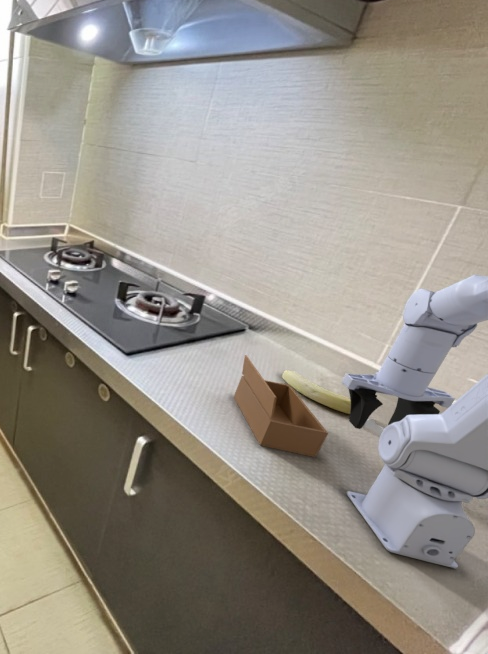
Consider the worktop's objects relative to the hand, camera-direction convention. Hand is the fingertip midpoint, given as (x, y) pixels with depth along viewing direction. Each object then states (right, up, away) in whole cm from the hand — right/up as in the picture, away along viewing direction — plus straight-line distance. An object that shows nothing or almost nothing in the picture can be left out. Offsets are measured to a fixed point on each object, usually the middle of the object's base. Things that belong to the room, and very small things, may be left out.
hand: (373, 428), depth 68 cm
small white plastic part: (0, -2, +1) cm, 2 cm away
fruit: (+4, +1, +16) cm, 17 cm away
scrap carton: (-13, -2, +6) cm, 15 cm away
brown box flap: (-17, +7, +4) cm, 19 cm away
